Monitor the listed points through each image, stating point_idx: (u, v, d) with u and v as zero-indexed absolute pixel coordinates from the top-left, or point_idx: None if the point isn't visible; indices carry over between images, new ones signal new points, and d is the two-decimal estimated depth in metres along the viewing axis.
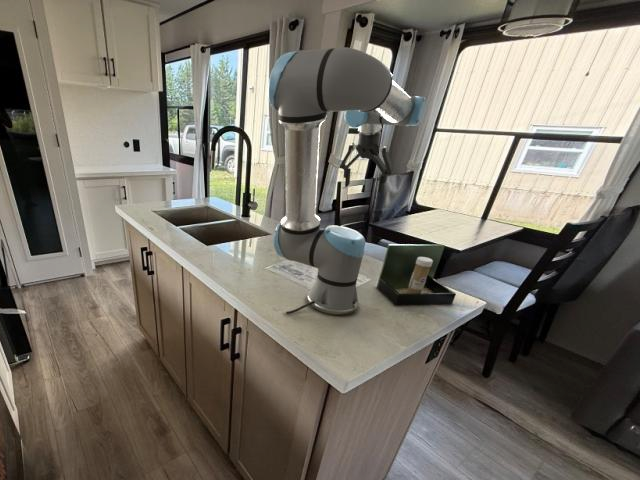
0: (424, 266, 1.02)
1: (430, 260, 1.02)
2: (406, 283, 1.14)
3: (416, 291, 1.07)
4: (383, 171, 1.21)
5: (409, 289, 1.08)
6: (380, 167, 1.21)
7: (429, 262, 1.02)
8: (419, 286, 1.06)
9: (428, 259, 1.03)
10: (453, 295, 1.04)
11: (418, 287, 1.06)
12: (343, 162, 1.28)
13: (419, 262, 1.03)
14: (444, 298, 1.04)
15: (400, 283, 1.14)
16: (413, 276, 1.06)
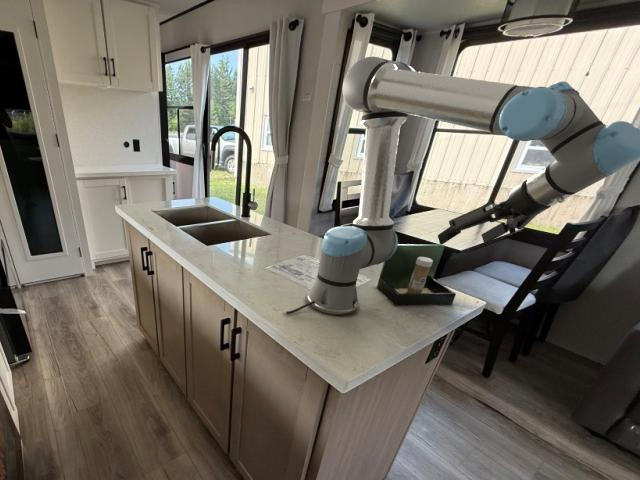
0: (424, 266, 1.02)
1: (430, 260, 1.02)
2: (406, 283, 1.14)
3: (416, 291, 1.07)
4: None
5: (409, 289, 1.08)
6: None
7: (429, 262, 1.02)
8: (419, 286, 1.06)
9: (428, 259, 1.03)
10: (453, 295, 1.04)
11: (418, 287, 1.06)
12: None
13: (419, 262, 1.03)
14: (444, 298, 1.04)
15: (400, 283, 1.14)
16: (413, 276, 1.06)
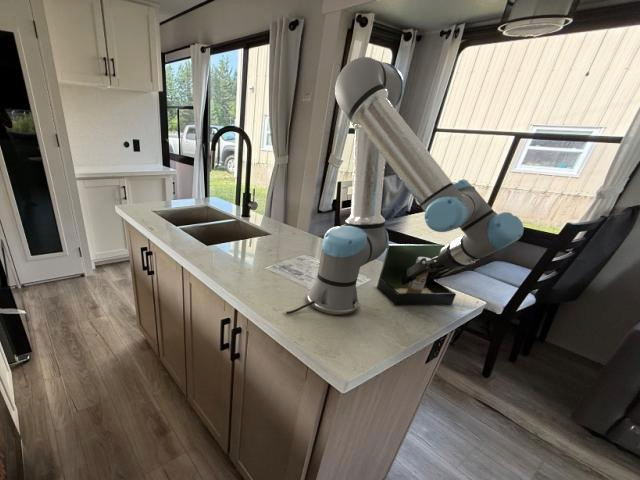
0: None
1: None
2: None
3: (416, 291, 1.07)
4: None
5: (409, 289, 1.08)
6: None
7: None
8: (419, 286, 1.06)
9: (428, 259, 1.03)
10: (453, 295, 1.04)
11: (418, 287, 1.06)
12: None
13: None
14: (444, 298, 1.04)
15: (400, 283, 1.14)
16: None
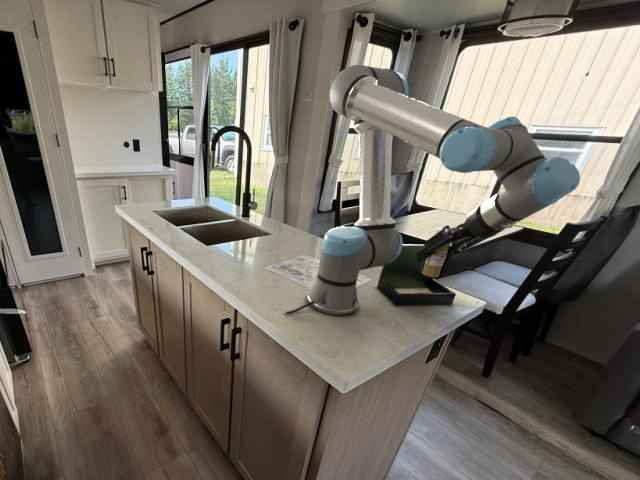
0: None
1: None
2: (406, 283, 1.14)
3: (434, 268, 0.92)
4: None
5: (426, 266, 0.93)
6: None
7: None
8: (438, 262, 0.91)
9: None
10: (453, 295, 1.04)
11: (437, 263, 0.91)
12: None
13: None
14: (444, 298, 1.04)
15: (400, 283, 1.14)
16: None
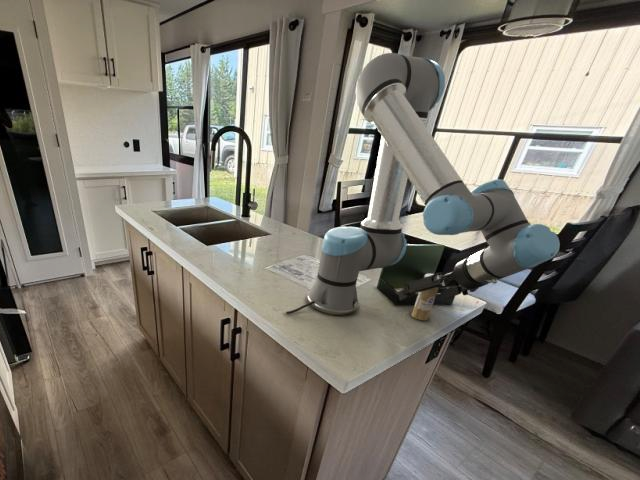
0: None
1: None
2: None
3: (423, 312, 0.95)
4: None
5: (415, 309, 0.96)
6: None
7: None
8: (426, 307, 0.94)
9: None
10: None
11: (426, 307, 0.94)
12: None
13: None
14: None
15: (400, 283, 1.14)
16: (420, 295, 0.94)
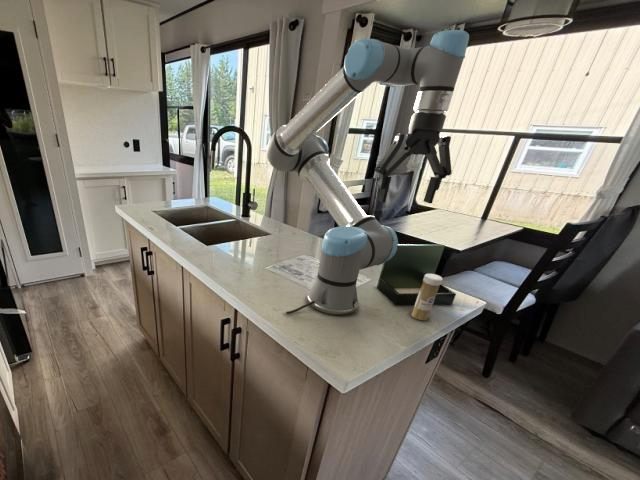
0: (432, 285, 0.90)
1: (439, 278, 0.90)
2: (406, 283, 1.14)
3: (423, 312, 0.95)
4: None
5: (415, 309, 0.96)
6: None
7: (439, 281, 0.90)
8: (426, 307, 0.94)
9: (437, 277, 0.91)
10: (453, 295, 1.04)
11: (426, 307, 0.94)
12: None
13: (427, 280, 0.91)
14: (444, 298, 1.04)
15: (400, 283, 1.14)
16: (420, 295, 0.94)
